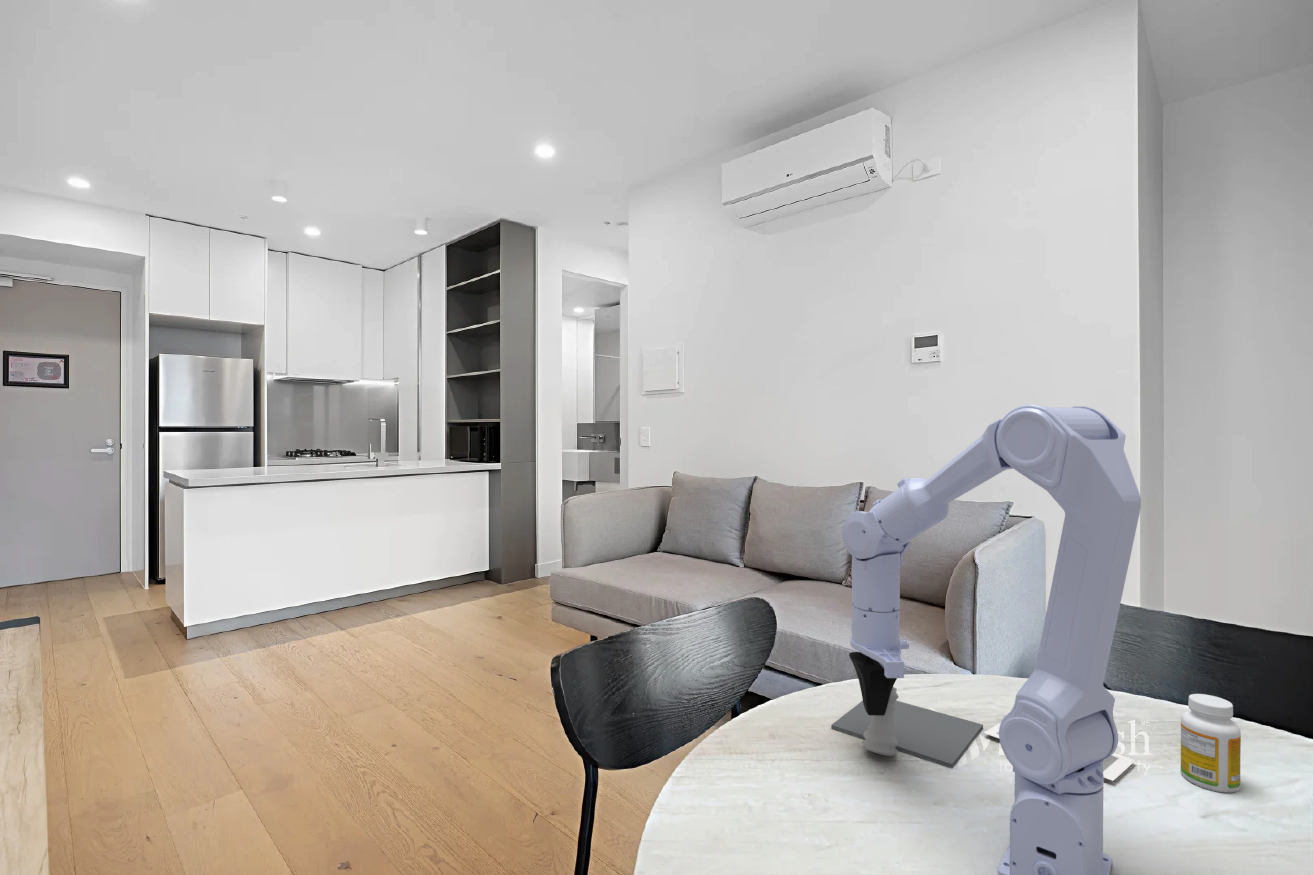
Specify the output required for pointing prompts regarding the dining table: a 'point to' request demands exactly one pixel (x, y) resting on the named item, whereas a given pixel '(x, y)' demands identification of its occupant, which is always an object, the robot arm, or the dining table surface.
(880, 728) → the rook chess piece
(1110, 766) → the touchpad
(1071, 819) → the robot arm
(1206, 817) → the dining table surface
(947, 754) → the mat
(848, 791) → the dining table surface
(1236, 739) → the supplement bottle
